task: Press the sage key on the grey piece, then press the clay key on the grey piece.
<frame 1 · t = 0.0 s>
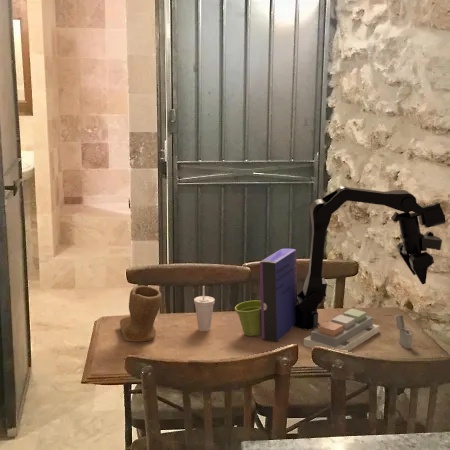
hand: (419, 279, 205), 15 cm above the table, tool pointing down, fingers open, 9 cm apart
smoothie: (204, 329, 204), on the table
grey key: (343, 322, 197), point 5 cm above the table, slide at 0.0 cm
plant pot: (254, 333, 201), on the table, touching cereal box
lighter: (402, 344, 195), on the table
brown clay boot: (141, 335, 200), on the table
grey piece: (342, 338, 198), on the table
clay key: (330, 329, 192), point 5 cm above the table, slide at 0.0 cm
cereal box: (280, 331, 203), on the table, touching arm, plant pot
sage key: (354, 316, 202), point 5 cm above the table, slide at 0.0 cm
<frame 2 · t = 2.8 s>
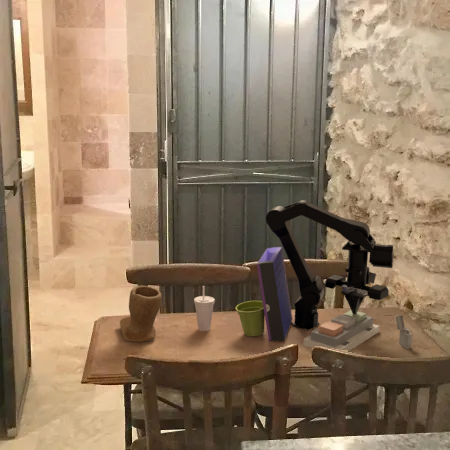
hand: (354, 313, 202), 6 cm above the table, tool pointing down, fingers closed, pressing on sage key
sage key: (354, 317, 202), point 5 cm above the table, slide at 0.4 cm, touching gripper
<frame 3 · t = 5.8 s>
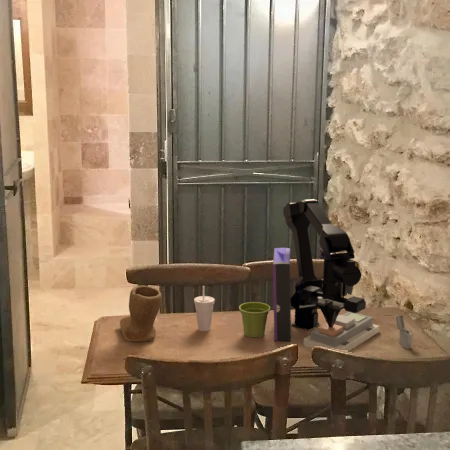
hand: (330, 326, 192), 6 cm above the table, tool pointing down, fingers closed, pressing on clay key
plant pot: (254, 334, 201), on the table
clay key: (330, 331, 192), point 5 cm above the table, slide at 0.4 cm, touching gripper
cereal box: (282, 331, 204), on the table, touching arm
sage key: (354, 321, 203), point 3 cm above the table, slide at 1.5 cm
everything else where it was.
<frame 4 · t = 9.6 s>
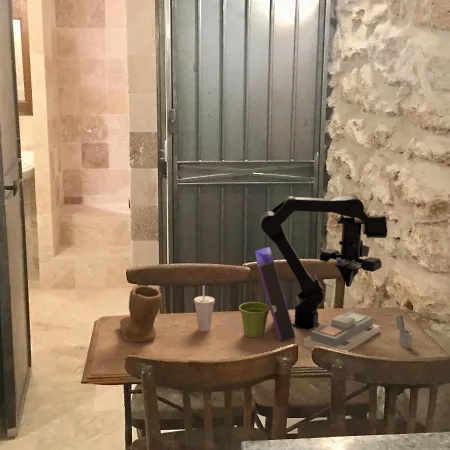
hand: (348, 286, 205), 13 cm above the table, tool pointing down, fingers closed
clay key: (330, 334, 192), point 3 cm above the table, slide at 1.5 cm
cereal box: (285, 328, 204), on the table
everything else where it was.
at the end: sage key slide at 1.5 cm; clay key slide at 1.5 cm; grey key slide at 0.0 cm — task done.
